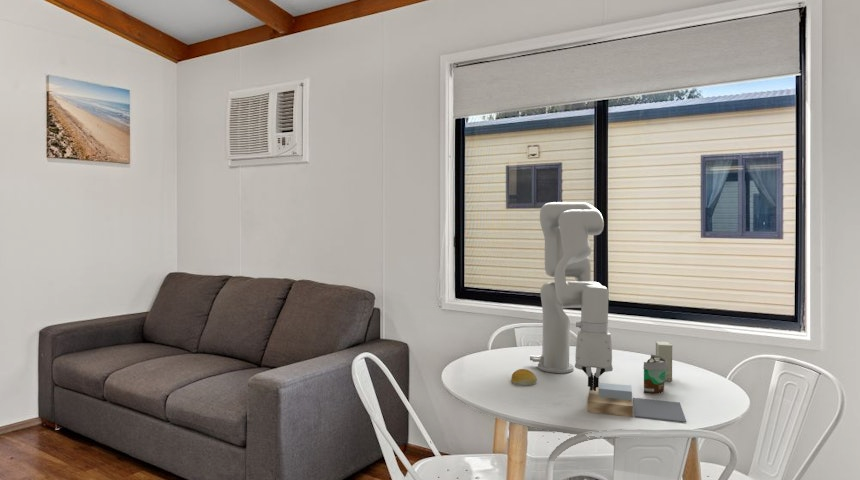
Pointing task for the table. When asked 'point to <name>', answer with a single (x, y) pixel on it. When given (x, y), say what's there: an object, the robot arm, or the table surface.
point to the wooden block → (609, 405)
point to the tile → (615, 391)
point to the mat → (658, 410)
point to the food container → (654, 374)
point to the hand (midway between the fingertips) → (593, 389)
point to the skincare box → (665, 351)
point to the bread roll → (523, 377)
